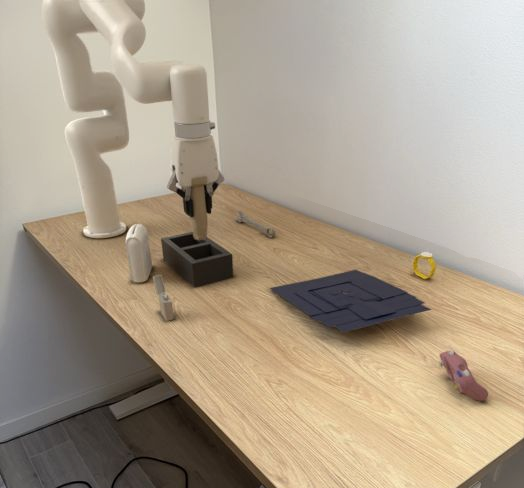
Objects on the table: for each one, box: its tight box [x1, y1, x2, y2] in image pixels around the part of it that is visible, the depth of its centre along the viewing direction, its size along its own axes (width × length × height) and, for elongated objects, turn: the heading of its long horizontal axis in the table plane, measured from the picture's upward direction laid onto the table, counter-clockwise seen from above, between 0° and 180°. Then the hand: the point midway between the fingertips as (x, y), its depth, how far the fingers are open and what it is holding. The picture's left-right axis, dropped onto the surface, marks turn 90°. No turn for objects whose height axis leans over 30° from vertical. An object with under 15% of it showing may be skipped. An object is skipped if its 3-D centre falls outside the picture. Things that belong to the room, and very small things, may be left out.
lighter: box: [152, 274, 175, 322], centre depth 109 cm, size 7×2×8 cm, turn 26°
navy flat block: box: [269, 269, 432, 333], centre depth 112 cm, size 24×30×4 cm
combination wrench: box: [235, 209, 276, 238], centre depth 154 cm, size 4×1×20 cm
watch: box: [412, 251, 437, 280], centre depth 123 cm, size 6×3×6 cm, turn 33°
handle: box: [190, 177, 208, 241], centre depth 119 cm, size 5×6×15 cm
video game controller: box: [438, 349, 489, 402], centre depth 86 cm, size 10×5×7 cm, turn 5°
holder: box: [160, 231, 234, 288], centre depth 130 cm, size 20×11×6 cm, turn 31°
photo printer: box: [125, 223, 153, 284], centre depth 125 cm, size 10×4×12 cm, turn 2°
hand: (198, 213), depth 120 cm, fingers closed on handle, 3 cm apart
